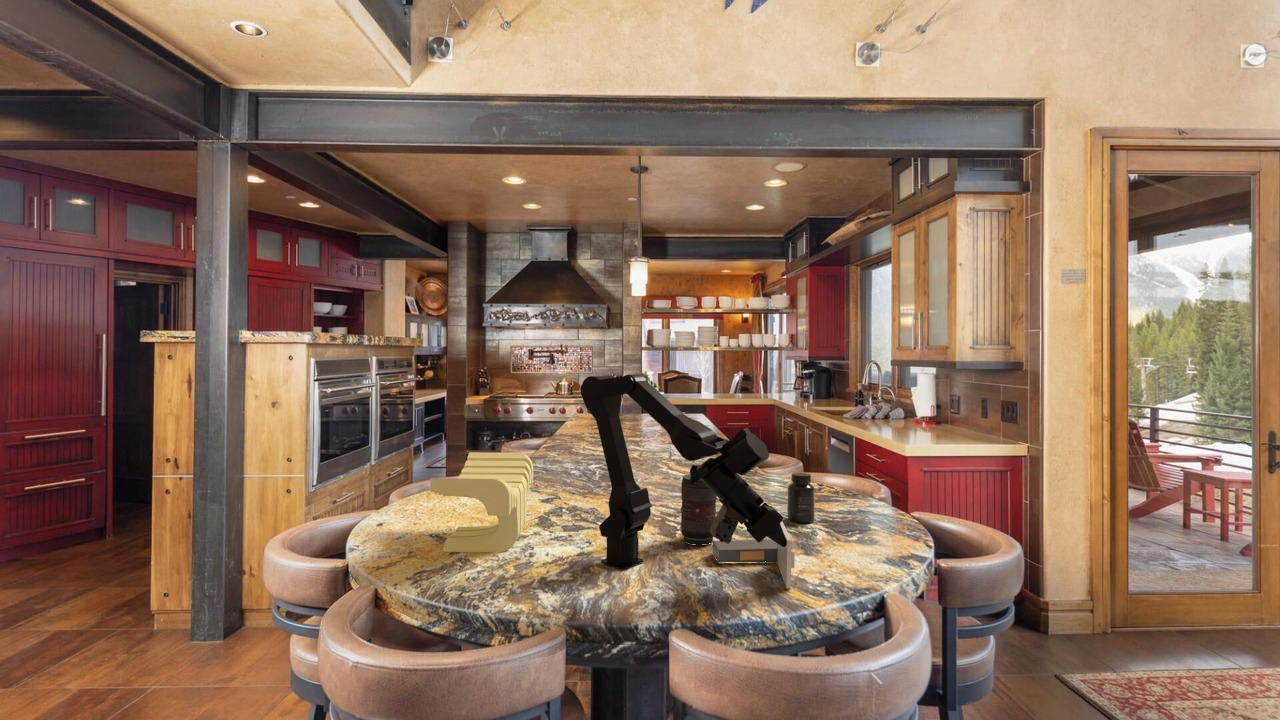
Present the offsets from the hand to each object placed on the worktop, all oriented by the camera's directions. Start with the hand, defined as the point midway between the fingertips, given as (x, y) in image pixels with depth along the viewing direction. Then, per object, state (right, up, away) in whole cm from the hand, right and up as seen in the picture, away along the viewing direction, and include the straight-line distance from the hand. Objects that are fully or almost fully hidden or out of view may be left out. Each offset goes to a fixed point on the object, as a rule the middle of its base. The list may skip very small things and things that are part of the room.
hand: (784, 544), depth 118 cm
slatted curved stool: (-62, -7, +24) cm, 67 cm away
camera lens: (-14, -7, +26) cm, 30 cm away
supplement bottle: (+14, -7, +44) cm, 47 cm away
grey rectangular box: (-4, -7, +15) cm, 17 cm away
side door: (+1, -8, +5) cm, 9 cm away
